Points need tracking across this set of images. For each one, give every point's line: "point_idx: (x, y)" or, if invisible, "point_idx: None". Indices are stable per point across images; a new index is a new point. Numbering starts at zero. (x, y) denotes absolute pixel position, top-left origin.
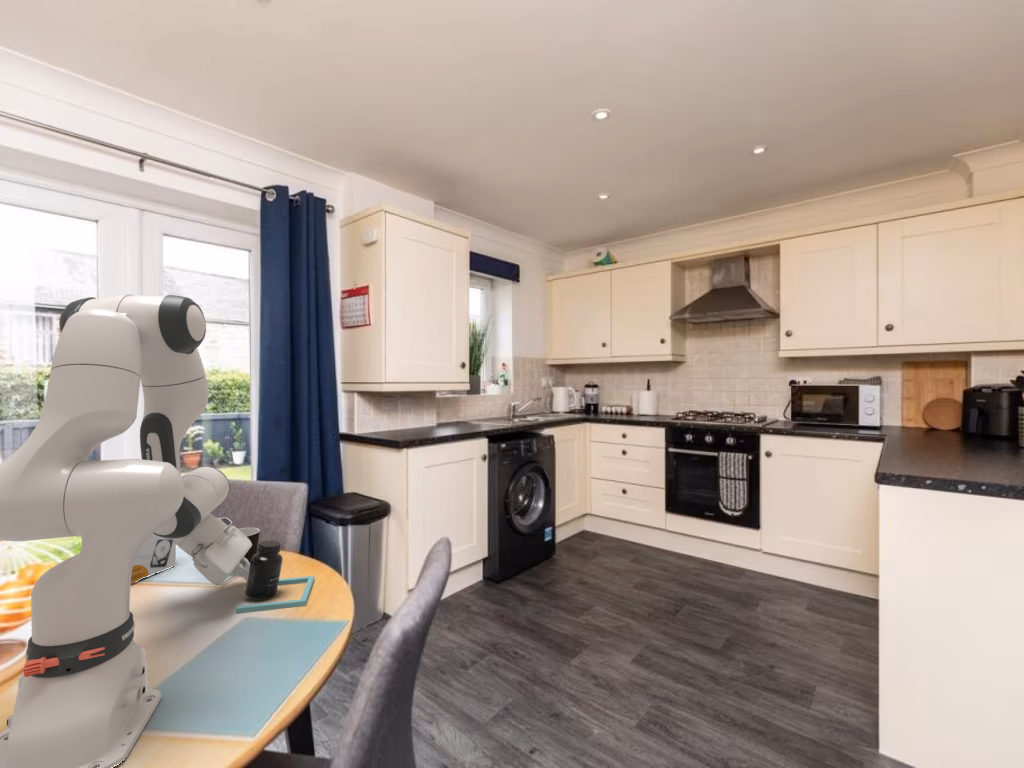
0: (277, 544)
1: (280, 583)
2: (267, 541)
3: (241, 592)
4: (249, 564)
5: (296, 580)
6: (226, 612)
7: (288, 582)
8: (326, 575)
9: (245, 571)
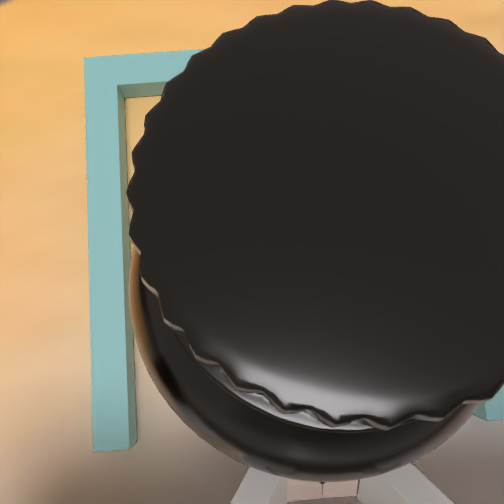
0: (358, 38)
1: (126, 259)
2: (229, 266)
3: (198, 487)
4: (260, 493)
5: (121, 159)
6: (486, 475)
7: (126, 209)
8: (39, 15)
9: (415, 476)
